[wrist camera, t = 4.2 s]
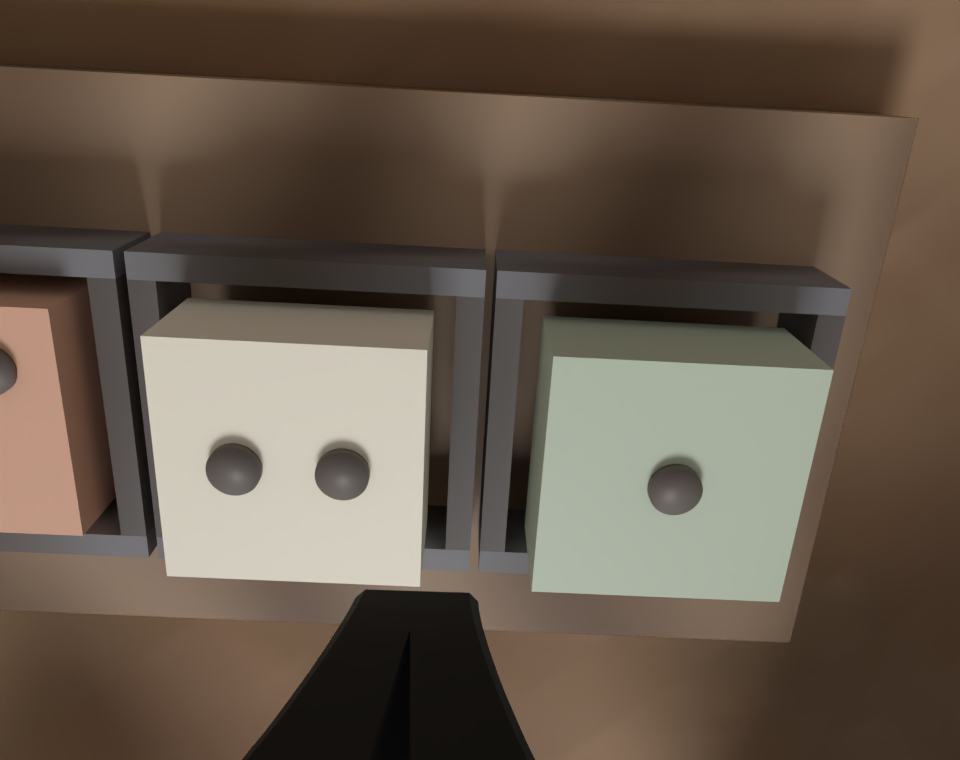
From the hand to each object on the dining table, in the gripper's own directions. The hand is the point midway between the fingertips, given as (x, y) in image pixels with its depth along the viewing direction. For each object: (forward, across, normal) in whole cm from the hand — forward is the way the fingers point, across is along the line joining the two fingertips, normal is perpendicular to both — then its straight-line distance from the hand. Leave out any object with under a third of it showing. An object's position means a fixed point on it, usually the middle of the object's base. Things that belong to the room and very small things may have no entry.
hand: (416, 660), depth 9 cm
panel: (+9, +2, 0) cm, 10 cm away
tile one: (+6, -4, 0) cm, 8 cm away
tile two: (+7, +2, 0) cm, 7 cm away
